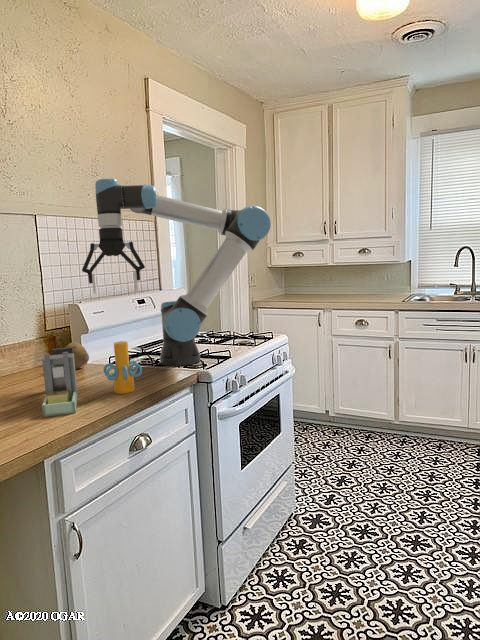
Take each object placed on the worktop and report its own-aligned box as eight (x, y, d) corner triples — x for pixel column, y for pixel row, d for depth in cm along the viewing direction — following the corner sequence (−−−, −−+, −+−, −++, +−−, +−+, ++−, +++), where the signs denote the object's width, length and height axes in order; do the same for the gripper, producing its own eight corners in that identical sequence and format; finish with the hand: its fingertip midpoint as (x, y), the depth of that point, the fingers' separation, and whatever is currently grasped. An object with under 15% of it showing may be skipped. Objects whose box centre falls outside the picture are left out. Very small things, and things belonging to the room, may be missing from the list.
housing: (77, 396, 145) (73, 346, 143) (76, 404, 137) (71, 351, 135) (48, 399, 143) (43, 349, 141) (45, 408, 134) (40, 354, 132)
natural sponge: (59, 369, 184) (56, 342, 183) (82, 364, 190) (79, 339, 189) (69, 372, 178) (66, 345, 176) (92, 367, 183) (90, 341, 182)
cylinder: (103, 389, 152) (99, 341, 150) (137, 384, 156) (133, 337, 154) (109, 399, 141) (105, 347, 139) (146, 393, 145) (142, 343, 143)
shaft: (74, 365, 157) (72, 347, 157) (70, 381, 136) (68, 360, 136) (54, 367, 156) (52, 349, 155) (47, 384, 135) (45, 362, 134)
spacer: (69, 404, 136) (68, 390, 135) (68, 408, 132) (66, 394, 131) (50, 406, 135) (49, 392, 134) (48, 410, 131) (47, 396, 130)
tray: (77, 401, 140) (76, 391, 139) (75, 412, 129) (74, 401, 129) (47, 405, 137) (45, 395, 137) (43, 417, 127) (41, 405, 127)
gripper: (147, 227, 170) (151, 288, 172) (71, 229, 163) (77, 293, 166) (149, 225, 162) (154, 289, 165) (70, 228, 156) (76, 295, 158)
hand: (115, 292), depth 165 cm, fingers open, 13 cm apart
